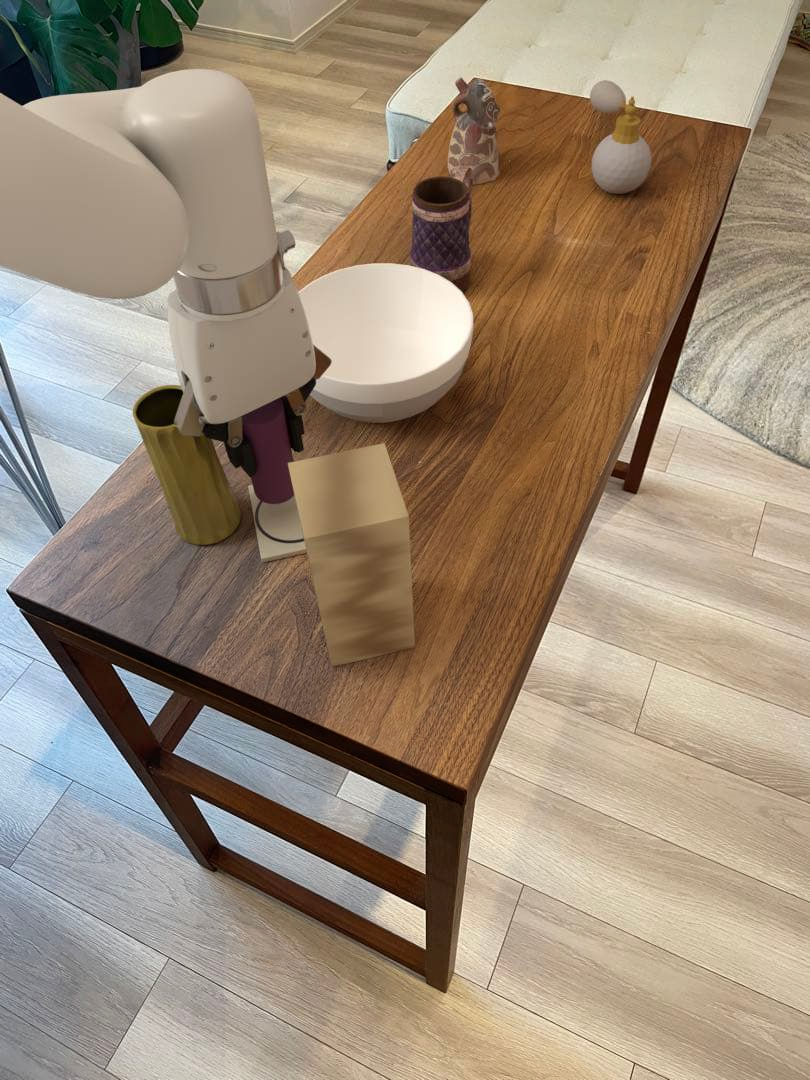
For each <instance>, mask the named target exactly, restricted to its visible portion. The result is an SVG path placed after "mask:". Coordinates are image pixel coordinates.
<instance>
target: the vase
mask: <svg viewBox="0 0 810 1080" xmlns="http://www.w3.org/2000/svg"><path fill="white" fill-rule="evenodd" d="M182 396H183V391H182V388H181V385H180V384H165V385H161V386H157V387H155V388H152V389H150V390H149V391H147V392H145V393H143V394H142V395H141V396H140V397H139V398H138V400H136V402H135V403H134V404H133V407H132V417H133V421H134V422H135V424H136V427H137V429H138V431H139V434H140V436H141V437H140V438H141V439H142V442H143V445H144V447H145V449H146V452H147V454H148V456H149V459H150V461H151V464H152V466H153V468H154V471H155V474H156V476H157V479H158V481H159V483H160V487H161V489H162V492H163V495H164V499H165V501H166V504H167V506H168V510H169V512H170V515H171V517H172V519H173V522H174V527H175V531H176V533H177V534H178V536H179V537H180V538H181V539H182V540H184V541H185V542H186V543H189V544H193V545H198V546H209V545H213V544H217V543H219V542H221V541H223V540H225V539H227V538H228V537H229V536H231V535H232V534H233V533H234V532H235V530H236V529H237V528H238V526H239V525H240V522H241V519H242V509H241V508H240V505H239V503H238V501H237V499H236V497H235V494H234V492H233V489H232V487H231V484H230V482H229V480H228V476H227V475H226V471H225V470H224V468H223V465H222V463H221V461H220V459H219V456H218V453H217V450H216V448H215V445H214V440H213V439H209V438H207V437H206V436H200V437H196V436H182V435H181V434H180V433H179V432H178V430H177V429H176V428H175V427H174V425H173V422H174V419H175V416H176V413H177V410H178V407H179V404H180V401H181V399H182ZM201 415H204V414H203V413H202V412H201V413H200V416H201Z"/></svg>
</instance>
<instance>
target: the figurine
mask: <svg viewBox="0 0 810 1080" xmlns="http://www.w3.org/2000/svg"><path fill="white" fill-rule="evenodd" d="M454 83H455V84H454V85H455V86H456V88H457V90H458V92H459V94H458V95H457V96H456V98H455V99H454V102H453V104H452V105H453V106H452V114H453V117H454V126H453V129H452V132H451V137H450V140H449V145H448V146H449V147H448V154H447V171H448V174H449V177H451V173H452V171H453V169H454V167H455V166H456V164H467V165H468V166H469V167H470V168H471V169H472V174H473V186H474V185H475V186H476V185H481V184H485V183H489V182H493V181H496V180H497V178H498V176H500V174H501V170H500V151H499V146H498V134H497V128H496V125H497V122H498V120H497V119H498V118H499V113H500V112H501V108H500V106H499V105H498V104H497V103H496V99H495V94H494V91H493V89H491V87H490V85H489V84H488V83H487V82H486V81H485V80H483V79H482V78H475V79H474V80H472V83H471V84H470V85H469V84H468V83H467V82H466V81H465V80H464V79H463V77H458V78H457V79H456V80H455V82H454ZM463 104H464V105H465V106H466V108H467V110H465V111H462V110H461V109H460V108H459V107H460V105H463Z"/></svg>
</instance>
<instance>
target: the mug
mask: <svg viewBox="0 0 810 1080" xmlns="http://www.w3.org/2000/svg"><path fill="white" fill-rule="evenodd" d="M473 186H474V185H473V174H472V169H471V168H470V167H469V166H468V165H467V164H456V166H455V167H454V169H453V171H452V173H451V176H446V175H445V176H432V177H428V178H425V179H423V180H421V181H419V182H418V183H416V185H415V186H414V188H413V194H412V196H411V197H412V198H411V210H412V219H411V221H412V225H411V227H412V230H411V249H410V255H409V258H410V259H409V266H413V267H417V268H422V269H425V270H428V271H430V272H433V273H435V274H438V275H440V276H442V277H443V278H445V279H447V280H448V281H450V282H452V283H453V284H454V285H455V286H456V287H457V288H458V289H459V290H460V291H462V293H464V291H465V290H466V289H468V287H469V285H470V280H471V279H470V270H471V267H472V250H471V248H470V229H471V225H472V204H473V203H472V201H473Z"/></svg>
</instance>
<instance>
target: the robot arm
mask: <svg viewBox="0 0 810 1080" xmlns="http://www.w3.org/2000/svg"><path fill="white" fill-rule="evenodd" d="M259 121H260V120H259V116H258V112H257V106H256V103H255V100H254V98H253V95H252V94H251V92H250V90H249V89H248V88H247V86H246V85H245V84H244V83H243V82H242V81H241V80H239V79H238V78H237V77H235V76H233V75H231V74H229V73H227V72H224V71H221V70H216V69H211V68H210V69H209V68H190V69H189V68H188V69H181V70H176V71H171V72H167V73H164V74H160V75H158V76H155V77H154V78H152V79H150V80H148V81H146V82H145V83H143V85H140V86H136V87H129V88H123V89H114V90H113V89H112V90H105V91H93V92H92V91H91V92H83V93H82V92H80V93H69V94H59V95H51V96H47V97H42V98H38V99H35V100H32V101H29V102H27V103H25V104H24V105H21V104H20V103H18V102H16V101H15V100H13V99H12V98H9V97H8V96H6V95H4V94H3V93H1V92H0V267H3V268H5V269H7V270H10V271H12V272H13V271H14V272H16V273H19V274H22V275H26V276H27V277H30V278H34V279H37V280H39V281H42V282H44V283H45V282H46V283H48V284H51V285H54V286H57V287H61V288H63V289H66V290H69V291H72V292H75V293H79V294H82V295H86V296H90V297H94V298H100V299H109V300H129V299H135V298H139V297H143V296H146V295H149V294H151V293H153V292H156V291H158V290H160V289H161V288H163V286H165V285H167V284H168V283H169V282H170V281H171V280H172V279H173V282H174V286H175V289H174V290H173V291H171V292H170V293H169V294H168V296H167V318H168V319H167V320H168V321H167V322H168V329H169V337H170V345H171V349H172V355H173V360H174V365H175V369H176V374H177V378H178V382H179V386H181V388H182V391H183V396H182V399H181V401H180V404H179V407H178V410H177V413H176V416H175V419H174V422H173V425H174V427H175V428H176V429H177V430H178V432H179V433H180V434H181V435H182V436H196V437H200V436H206V437H207V438H209V439H212V441H217V442H221V443H223V444H224V448H225V452H226V455H227V458H228V460H229V462H230V464H231V465H232V466H233V468H235V469H239V468H241V469H242V470H243V471H244V473H245V474H246V475H247V476H248V477H249V478H250V479H251V477H253V476H255V475H256V473H257V469H256V465H255V461H254V457H253V453H252V449H251V445H250V442H249V441H248V440H247V439H246V437H245V436H244V435H243V434H242V415H244V414H247V413H249V412H251V411H253V410H255V409H257V408H259V407H261V406H263V405H265V404H268V403H270V402H272V401H274V400H276V399H278V398H280V400H281V401H282V403H283V407H284V412H285V418H286V423H287V428H288V433H289V439H290V444H291V449H292V450H293V451H294V452H295V453H298V454H299V453H301V452H303V451H305V448H304V441H303V435H305V433H306V432H305V427H304V421H303V416H302V415H304V413H305V412H306V410H307V404H306V401H307V400H308V398H309V397H310V393H311V392H312V390H313V389H314V387H315V385H316V380H317V379H319V378H320V377H321V376H322V375H323V373H324V372H325V371H326V370H327V369H328V368H329V366H330V365H331V359H330V358H329V357H328V356H327V355H326V354H325V353H324V352H323V351H322V350H320V349H319V348H318V347H317V346H315V345H314V344H313V342H312V337H311V333H310V328H309V324H308V321H307V317H306V314H305V311H304V308H303V305H302V302H301V299H300V296H299V293H298V292H299V291H298V288H297V286H296V283H295V280H294V278H293V277H292V274H291V272H290V270H289V269H288V268H287V267H286V265H285V261H284V258H285V255H286V254H288V252H289V251H291V250H293V249H295V248H296V239H295V237H294V234H293V233H292V232H291V230H289V229H285V230H283V231H281V232H280V231H277V227H276V222H275V215H274V210H273V203H272V198H271V191H270V185H269V179H268V172H267V166H266V159H265V153H264V147H263V142H262V136H261V128H260V122H259ZM201 412H202V413H203V415H201V416H200V413H201Z"/></svg>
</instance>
